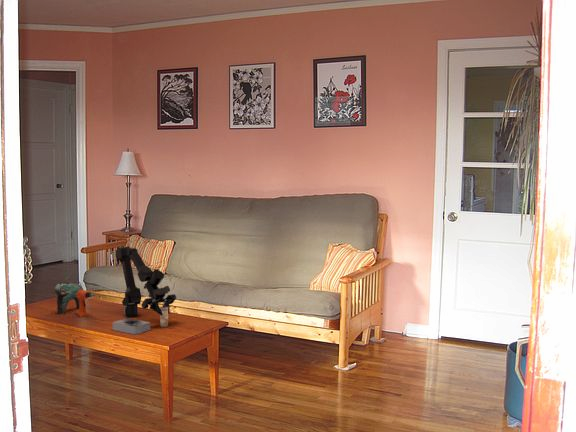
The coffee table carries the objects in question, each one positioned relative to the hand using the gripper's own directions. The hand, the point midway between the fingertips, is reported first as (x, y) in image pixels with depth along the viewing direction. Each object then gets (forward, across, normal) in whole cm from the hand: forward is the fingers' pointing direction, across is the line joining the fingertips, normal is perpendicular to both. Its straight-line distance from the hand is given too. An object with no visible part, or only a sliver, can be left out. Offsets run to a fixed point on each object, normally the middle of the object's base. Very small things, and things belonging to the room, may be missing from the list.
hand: (165, 314), depth 316 cm
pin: (+4, 0, +6) cm, 7 cm away
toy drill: (-29, -19, +39) cm, 52 cm away
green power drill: (-43, -20, +52) cm, 70 cm away
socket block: (0, -16, +9) cm, 19 cm away
